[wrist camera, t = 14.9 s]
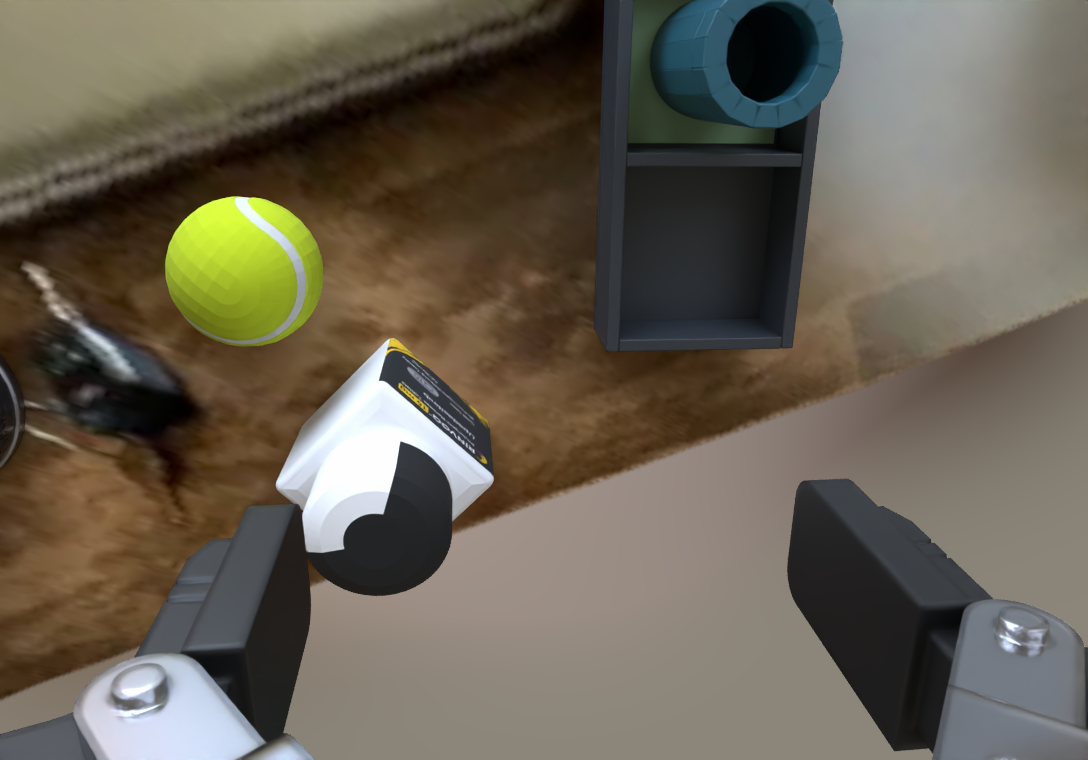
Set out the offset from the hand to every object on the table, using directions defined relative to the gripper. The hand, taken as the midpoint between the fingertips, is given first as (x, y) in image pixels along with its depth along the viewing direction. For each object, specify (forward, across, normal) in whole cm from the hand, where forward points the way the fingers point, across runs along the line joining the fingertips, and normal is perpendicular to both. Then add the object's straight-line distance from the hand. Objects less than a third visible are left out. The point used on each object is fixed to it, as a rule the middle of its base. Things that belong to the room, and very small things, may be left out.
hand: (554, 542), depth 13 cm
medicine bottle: (+30, +5, +10) cm, 32 cm away
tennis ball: (+30, +11, +1) cm, 32 cm away
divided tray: (+30, -10, -4) cm, 31 cm away
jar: (+29, -10, -8) cm, 32 cm away
